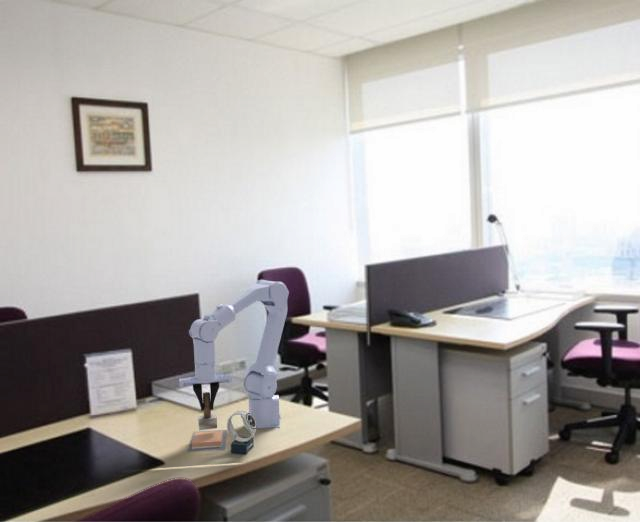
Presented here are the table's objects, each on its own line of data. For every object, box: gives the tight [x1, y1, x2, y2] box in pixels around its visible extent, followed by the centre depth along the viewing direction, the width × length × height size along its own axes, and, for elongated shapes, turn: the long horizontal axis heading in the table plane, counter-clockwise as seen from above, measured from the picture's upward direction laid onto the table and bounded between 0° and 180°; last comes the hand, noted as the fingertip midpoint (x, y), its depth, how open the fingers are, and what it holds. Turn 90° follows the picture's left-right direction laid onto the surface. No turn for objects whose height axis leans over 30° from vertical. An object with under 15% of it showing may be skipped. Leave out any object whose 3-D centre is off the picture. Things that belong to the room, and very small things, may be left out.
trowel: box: [197, 391, 218, 431], centre depth 174 cm, size 5×3×10 cm, turn 104°
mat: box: [187, 429, 229, 453], centre depth 174 cm, size 10×15×1 cm, turn 5°
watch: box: [226, 410, 258, 455], centre depth 166 cm, size 6×8×11 cm
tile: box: [192, 430, 223, 449], centre depth 172 cm, size 8×2×8 cm
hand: (207, 409), depth 173 cm, fingers closed on trowel, 2 cm apart
